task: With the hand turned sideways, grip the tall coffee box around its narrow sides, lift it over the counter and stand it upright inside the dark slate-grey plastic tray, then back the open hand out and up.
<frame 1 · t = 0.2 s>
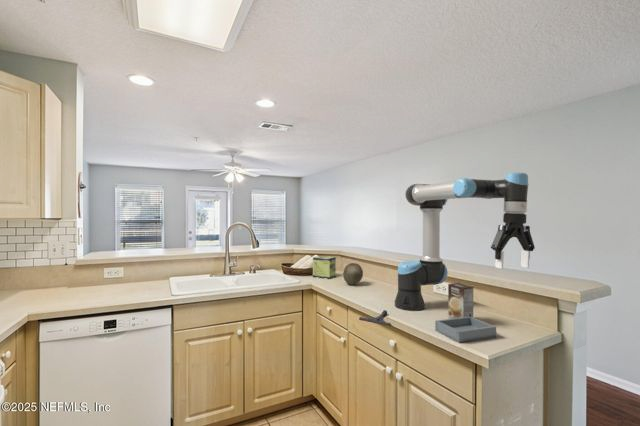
hand: (512, 267, 117), 27 cm above the table, tool pointing down, fingers open, 13 cm apart
coffee box: (460, 321, 136), on the table
tray: (464, 333, 121), on the table
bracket: (380, 320, 139), on the table
protein box: (324, 277, 237), on the table
dark brown ball: (353, 285, 209), on the table
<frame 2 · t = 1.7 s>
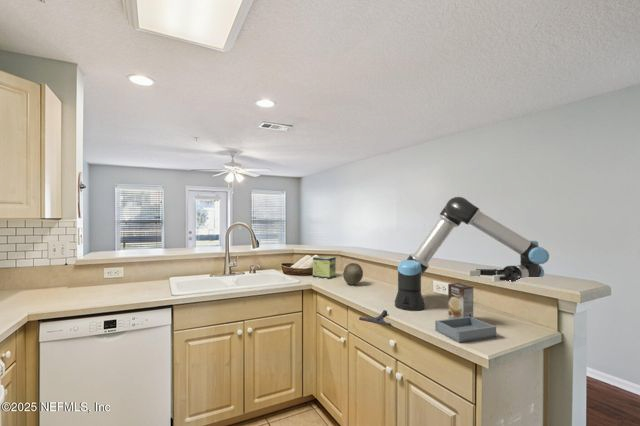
hand: (480, 276, 140), 20 cm above the table, tool horizontal, fingers open, 13 cm apart
nothing on the table moved.
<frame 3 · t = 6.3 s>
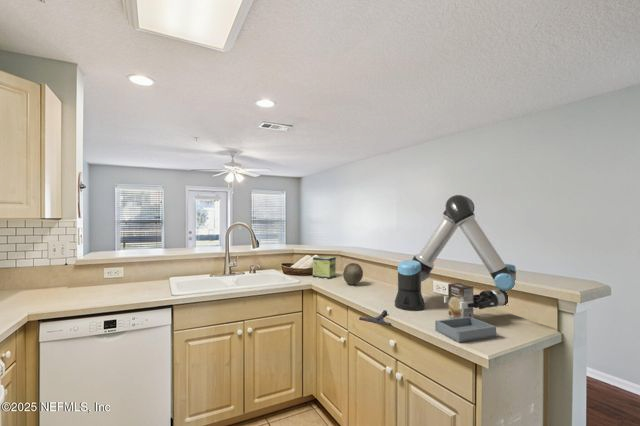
hand: (452, 302, 135), 9 cm above the table, tool horizontal, fingers closed on coffee box, 9 cm apart
coffee box: (460, 321, 136), on the table, touching gripper
everything else where it was.
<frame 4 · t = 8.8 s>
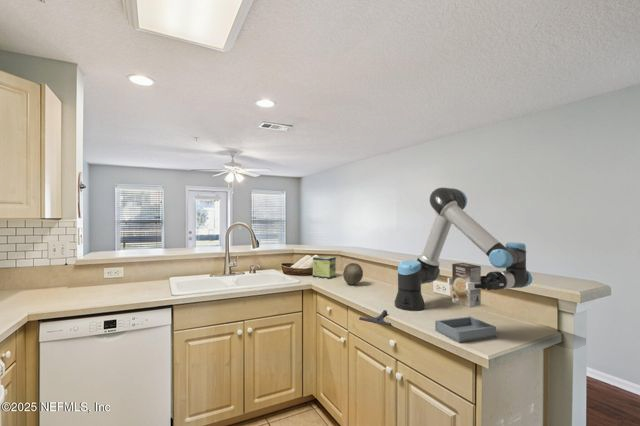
hand: (457, 283, 120), 20 cm above the table, tool horizontal, fingers closed on coffee box, 9 cm apart
coffee box: (466, 304, 122), point 11 cm above the table, touching gripper
everything else where it was.
when the fingers open (11 cm above the table, at t = 11.5 s): coffee box drops 1 cm, resting on tray.
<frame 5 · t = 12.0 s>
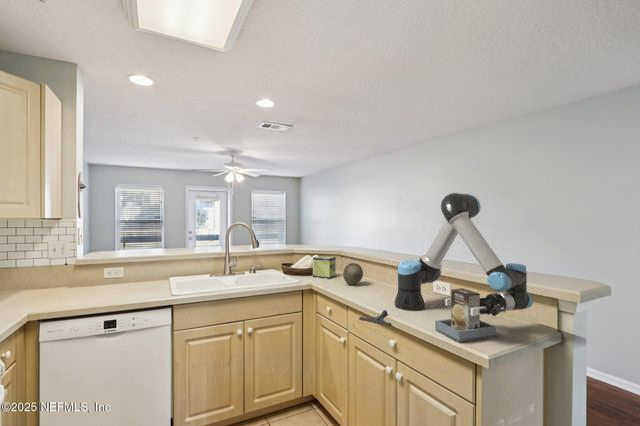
hand: (458, 306, 120), 11 cm above the table, tool horizontal, fingers open, 13 cm apart
coffee box: (465, 331, 121), point 1 cm above the table, touching tray
everything else where it was.
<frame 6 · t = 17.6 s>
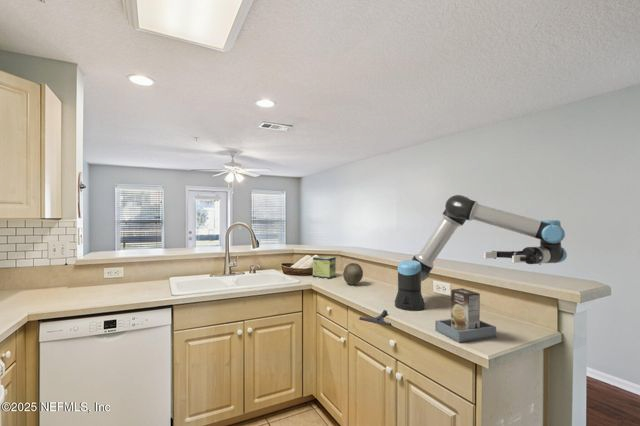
hand: (498, 257, 127), 30 cm above the table, tool horizontal, fingers open, 13 cm apart
nothing on the table moved.
at the end: coffee box inside the target area on the tray (0.1 cm from its centre), point 0.8 cm above the tray's base; coffee box tilted 0°; the gripper is holding nothing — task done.
